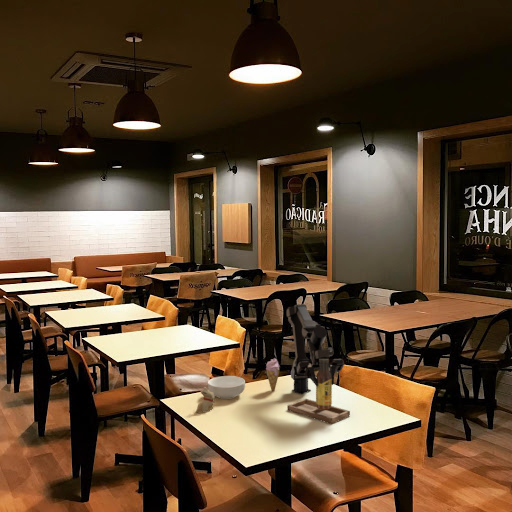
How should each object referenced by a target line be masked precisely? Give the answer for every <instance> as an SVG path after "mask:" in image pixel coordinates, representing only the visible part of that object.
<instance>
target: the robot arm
mask: <svg viewBox="0 0 512 512" xmlns="http://www.w3.org/2000/svg"><path fill="white" fill-rule="evenodd" d="M286 317H287V318H288V319H287V321H288V322H289V324H290V325H291V327H292V334H293V343H294V351H295V353H294V355H295V358H294V360H293V362H292V368H291V371H290V378H291V380H293V389H291V392H293V393H297V394H300V395H303V394H307V393H309V392H311V391H312V390H311V389H310V388H309V379H310V380H311V382H312V383H313V384H314V386H315V387H316V386H318V382H317V379H316V376H317V375H316V373H315V370H316V369H317V370H319V358H328V359H329V358H330V357H332V356H333V355H334V350H333V347H327V348H326V349H324V347H323V344H324V343H325V340H326V337H327V336H328V330H327V329H326V328H325V327H323V326H321V324H319V323H318V322H317V321H314V320H313V319H312V317H311V315H310V312H309V311H308V309H307V304H305V303H301V304H295V305H293V306H288V308H286ZM305 339H306V340H308V341H307V348H308V350H309V355H310V359H309V358H308V357H307V356H306V347H305ZM344 366H345V362H344V360H343V359H342V358H334V359H332V362H329V372H330V375H331V378H332V386H333V385H334V384H335V374H336V373H337V372H341V371H342V370H343V368H344Z"/></svg>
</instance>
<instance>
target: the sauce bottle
mask: <svg viewBox="0 0 512 512" xmlns="http://www.w3.org/2000/svg"><path fill="white" fill-rule="evenodd" d="M329 363H330V359H329V358H319V369H318V372H317V373H316V375H315V376H316V379H317V382H318V386H316V385H315V401H316V407H317V408H318V409H322V410H326V409H330V408H331V406H332V404H333V403H332V402H333V401H332V397H333V396H332V395H333V394H332V392H333V390H332V389H333V388H332V387H333V385H332V378H331V375H330V372H329V371H330V370H329Z"/></svg>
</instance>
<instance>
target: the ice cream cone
mask: <svg viewBox="0 0 512 512" xmlns="http://www.w3.org/2000/svg"><path fill="white" fill-rule="evenodd" d="M265 367H266V368H265V370H266V375H267V376H266V377H267V380H268V383H269V386H270V389H271V391H272V392H274V391H275V390H276V387H277V383H278V378H279V373H280V368H281V366H280V364H279V361H278V359H276V358H275V357H274V358H273V359H270V361H267V363H266V366H265Z"/></svg>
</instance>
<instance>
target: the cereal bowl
mask: <svg viewBox="0 0 512 512" xmlns="http://www.w3.org/2000/svg"><path fill="white" fill-rule="evenodd" d="M207 387H208V388H207V389H208V390H209V391H210V392H213V393H214V397H218V399H221V398H222V399H223V400H230V399H234V398H235V397H237V396H239V395H241V394H242V393H244V390H245V387H246V381H245V379H244V378H243V377H239V376H235V375H223V376H215V377H213V378H211V379H208V381H207Z"/></svg>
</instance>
